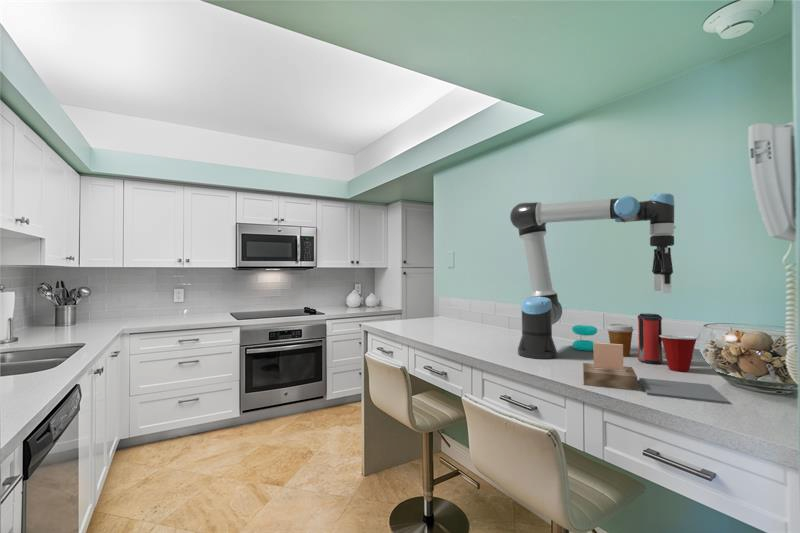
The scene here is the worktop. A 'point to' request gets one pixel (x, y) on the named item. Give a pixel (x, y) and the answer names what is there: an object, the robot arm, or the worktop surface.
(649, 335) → the speaker
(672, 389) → the mat
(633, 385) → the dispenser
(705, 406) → the worktop surface
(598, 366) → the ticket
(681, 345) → the plastic cup
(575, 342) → the turquoise double disc piece
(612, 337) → the disposable coffee cup
